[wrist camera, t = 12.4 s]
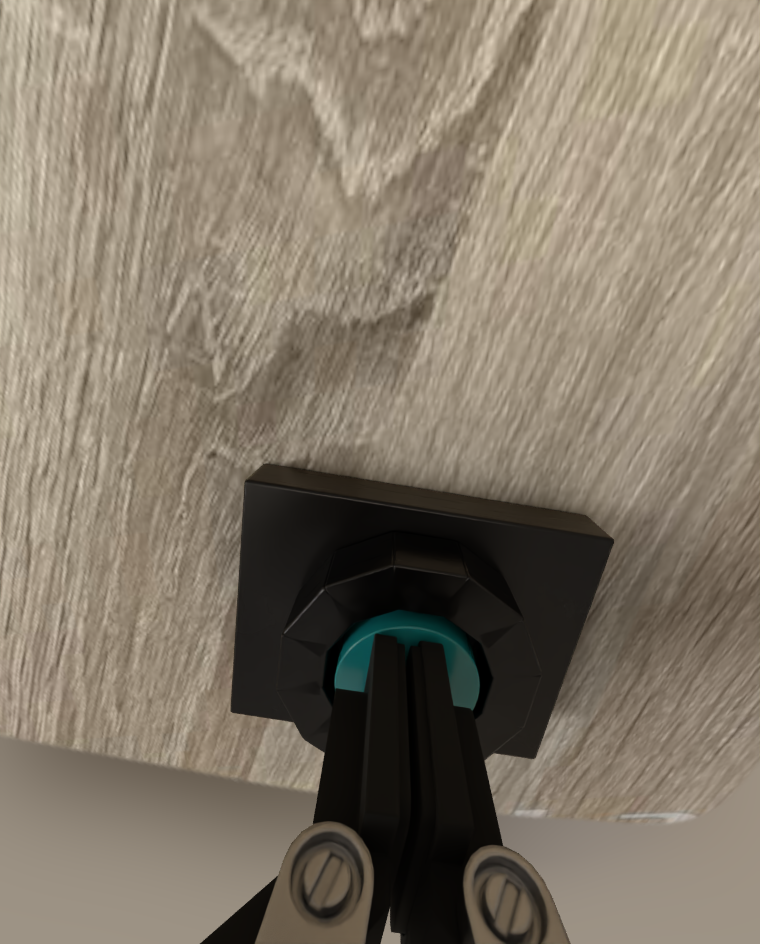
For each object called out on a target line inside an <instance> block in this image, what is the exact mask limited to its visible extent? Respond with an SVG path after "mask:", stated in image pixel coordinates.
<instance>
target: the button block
mask: <svg viewBox="0 0 760 944" xmlns="http://www.w3.org/2000/svg"><path fill="white" fill-rule="evenodd" d="M613 544H614V539H613V538H612V537H611V536H609V535H608V534H607V533H606V532H605V531H604V530H603V529H601V528H600V527H599V526H598V525H597V524H596V523H595V522H593V521H592V520H591V519H590V518H589V517H588V516H586V515H580V514H574V513H567V512H561V511H555V510H549V509H543V508H536V507H530V506H524V505H518V504H512V503H505V502H499V501H493V500H487V499H481V498H474V497H468V496H462V495H456V494H450V493H444V492H437V491H431V490H425V489H419V488H413V487H406V486H400V485H394V484H388V483H382V482H375V481H369V480H363V479H357V478H351V477H344V476H338V475H332V474H326V473H320V472H313V471H307V470H301V469H295V468H289V467H283V466H276V465H270V464H263V465H262V466H261V467H260V468H259V469H258V470H257V471H255V472H254V473H253V474H252V475H251V476H250V477H249V478H247V479H246V481H245V485H244V502H243V518H242V534H241V550H240V566H239V582H238V598H237V614H236V630H235V646H234V662H233V678H232V694H231V712H232V713H237V714H244V715H250V716H257V717H263V718H270V719H276V720H283V721H289V722H294V723H295V725H296V727H297V729H298V730H299V732H300V734H301V736H302V737H303V738H304V740H305V741H307V742H309V743H310V744H312V745H313V746H315V747H317V748H318V749H320V750H321V751H323V752H324V753H325V749H326V743H327V737H328V731H329V725H330V719H331V713H332V707H333V701H334V695H335V686H334V681H335V672H336V667H337V661H338V656H339V651H340V645H341V640H342V636H343V635H344V634H345V633H346V632H347V631H348V630H349V629H350V628H351V627H352V626H353V625H354V623H357V622H361V621H364V620H367V619H370V618H374V617H377V616H380V615H384V614H387V613H390V612H393V611H397V610H403V611H409V612H416V613H422V614H428V615H435V616H441V617H445V618H446V619H448V620H449V621H450V622H452V623H453V624H454V625H456V626H457V627H459V628H460V629H461V630H463V631H464V632H465V633H467V634H468V635H469V639H470V642H471V646H472V650H473V654H474V658H475V662H476V666H477V670H478V674H479V680H480V691H479V695H478V700H477V702H476V705H475V707H474V709H473V714H474V717H475V721H476V726H477V731H478V735H479V740H480V744H481V749H482V753H483V758H484V760H485V759H487V758H488V757H489V756H490V755H491V754H493V753H497V754H503V755H510V756H516V757H523V758H529V759H535V758H536V755H537V752H538V749H539V747H540V744H541V741H542V738H543V736H544V733H545V730H546V728H547V725H548V722H549V719H550V717H551V714H552V711H553V708H554V706H555V703H556V700H557V697H558V695H559V692H560V689H561V686H562V684H563V681H564V678H565V675H566V673H567V670H568V667H569V664H570V662H571V659H572V656H573V653H574V651H575V648H576V645H577V642H578V640H579V637H580V634H581V631H582V629H583V626H584V623H585V620H586V618H587V615H588V612H589V609H590V607H591V604H592V601H593V599H594V596H595V593H596V590H597V588H598V585H599V582H600V579H601V577H602V574H603V571H604V568H605V566H606V563H607V560H608V557H609V555H610V552H611V549H612V546H613Z"/></svg>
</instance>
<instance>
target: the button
mask: <svg viewBox="0 0 760 944" xmlns="http://www.w3.org/2000/svg"><path fill="white" fill-rule="evenodd" d="M375 634H381V635H388V636H394V637H397V643H399V644H404V645H405V660H406V664H407V659H408V654H409V650H410V647H411V645H412V646H418V644H419V641H427V642H434V643H440V644H442V645H443V647H444V652H445V658H446V664H447V670H448V676H449V682H450V688H451V694H452V700H453V705H454V706H459V707H465V708H471V710H472V711H473V709H474V707H475V705H476V702H477V700H478V695H479V691H480V680H479V674H478V670H477V666H476V662H475V658H474V654H473V650H472V646H471V642H470V639H469V635H468V634H467V633H465V632H464V631H463V630H461V629H460V628H459V627H457V626H456V625H454V624H453V623H452V622H450V621H449V620H448V619H446V618H445V617H441V616H435V615H428V614H422V613H416V612H409V611H403V610H397V611H393V612H390V613H387V614H384V615H380V616H377V617H374V618H370V619H367V620H364V621H361V622H357V623H354V625H353V626H352V627H351V628H350V629H349V630H348V631H347V632H346V633H345V634H344V635H343V636H342V640H341V645H340V651H339V656H338V661H337V667H336V672H335V681H334V686H335V689H336V688H339V689H345V690H352V691H359V692H364V689H365V683H366V678H367V672H368V667H369V662H370V656H371V651H372V645H373V640H374V635H375Z"/></svg>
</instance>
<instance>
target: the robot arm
mask: <svg viewBox="0 0 760 944" xmlns="http://www.w3.org/2000/svg"><path fill="white" fill-rule="evenodd" d="M389 909H390V926H391V932H395V933H400V934H401V944H571V943H570V941H569V938H568V936H567V933H566V931H565V928H564V926H563V923H562V921H561V918H560V915H559V914H558V911H557V908H556V905H555V903H554V901H553V898H552V896H551V894H550V892H549V890H548V888H547V886H546V884H545V882H544V880H543V879H542V877H541V876H540V875H539V873H538V872H537V871H536V870H535V868H534V867H533V866H532V865H531V864H530V863H529V862H528V861H527V860H526V859H525V858H523V857H522V856H521V855H520V854H519V853H517V852H515V851H513V850H511V849H509V848H507V847H504V846H503V843H502V839H501V834H500V830H499V825H498V821H497V816H496V812H495V807H494V803H493V798H492V794H491V789H490V785H489V780H488V776H487V771H486V767H485V762H484V758H483V753H482V749H481V744H480V740H479V735H478V731H477V726H476V721H475V717H474V714H473V711H472V710H471V708H465V707H459V706H454V705H453V700H452V694H451V688H450V682H449V676H448V670H447V664H446V658H445V652H444V647H443V645H442V644H440V643H434V642H427V641H419V644H418V646H412V645H411V647H410V650H409V654H408V659H407V664H406V660H405V645H404V644H399V643H397V637H394V636H388V635H381V634H375V635H374V640H373V645H372V651H371V656H370V662H369V667H368V672H367V678H366V683H365V689H364V692H359V691H352V690H345V689H339V688H336V689H335V695H334V701H333V707H332V713H331V719H330V725H329V731H328V737H327V743H326V749H325V755H324V761H323V767H322V773H321V779H320V785H319V791H318V797H317V803H316V809H315V814H314V821H313V825H312V826H310V827H308V828H307V829H305V830H304V831H302V832H301V833H300V834H299V835H298V836H297V838H296V839H295V840H294V841H293V842H292V843H291V845H290V847H289V849H288V851H287V853H286V855H285V857H284V860H283V863H282V866H281V869H280V871H279V875H278V876H277V877H276V878H275V879H273V880H272V881H271V882H270V883H269V884H268V885H267V886H265V887H264V888H263V889H262V890H261V891H260V892H259V893H257V894H256V895H255V896H254V897H253V898H252V899H251V900H250V901H248V902H247V903H246V904H245V905H244V906H243V907H241V908H240V909H239V910H238V911H237V912H236V913H235V914H234V915H232V916H231V917H230V918H229V919H228V920H227V921H226V922H224V923H223V924H222V925H221V926H220V927H219V928H217V929H216V930H215V931H214V932H213V933H212V934H211V935H209V936H208V937H207V938H206V939H205V940H204V941H203V942H202V943H200V944H380V943H381V939H382V935H383V932H384V928H385V923H386V920H387V916H388V912H389Z"/></svg>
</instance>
